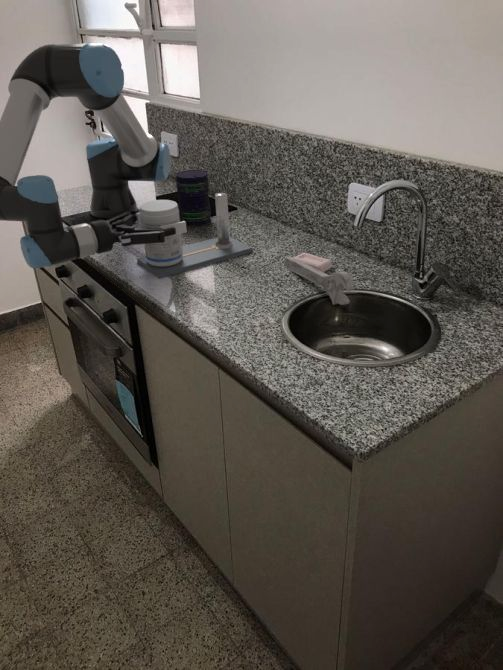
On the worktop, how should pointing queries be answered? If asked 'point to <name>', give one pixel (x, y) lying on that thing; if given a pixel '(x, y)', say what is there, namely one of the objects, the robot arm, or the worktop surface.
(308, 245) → the worktop surface
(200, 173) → the storage jar
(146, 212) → the supplement tub
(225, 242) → the steel pin
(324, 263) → the soap bar
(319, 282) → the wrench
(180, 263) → the board
